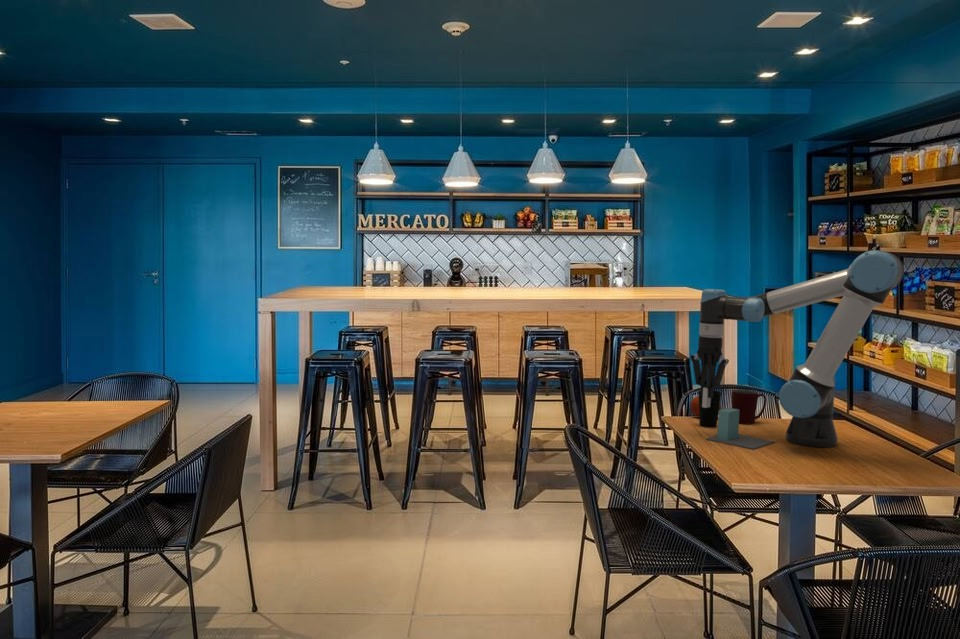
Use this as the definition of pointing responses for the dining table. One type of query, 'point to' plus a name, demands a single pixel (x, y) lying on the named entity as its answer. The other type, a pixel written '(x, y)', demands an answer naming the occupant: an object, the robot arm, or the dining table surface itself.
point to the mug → (747, 405)
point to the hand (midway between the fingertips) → (706, 406)
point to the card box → (728, 423)
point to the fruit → (697, 406)
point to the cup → (709, 410)
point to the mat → (743, 441)
